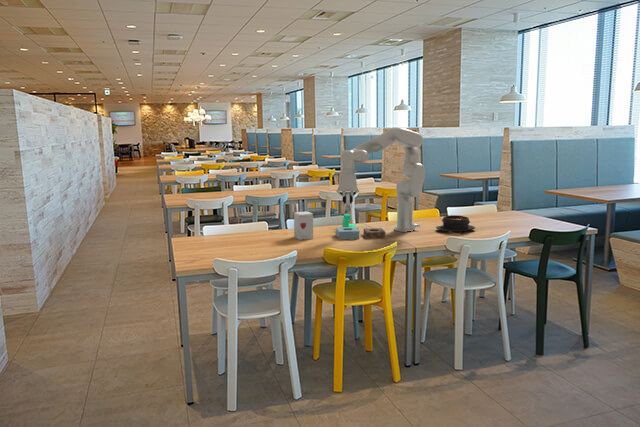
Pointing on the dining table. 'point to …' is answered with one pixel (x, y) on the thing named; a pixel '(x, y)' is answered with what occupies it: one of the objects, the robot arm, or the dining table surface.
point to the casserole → (455, 224)
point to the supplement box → (303, 225)
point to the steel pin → (347, 201)
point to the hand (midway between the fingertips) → (347, 202)
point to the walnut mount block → (374, 233)
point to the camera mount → (345, 221)
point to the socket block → (347, 232)
